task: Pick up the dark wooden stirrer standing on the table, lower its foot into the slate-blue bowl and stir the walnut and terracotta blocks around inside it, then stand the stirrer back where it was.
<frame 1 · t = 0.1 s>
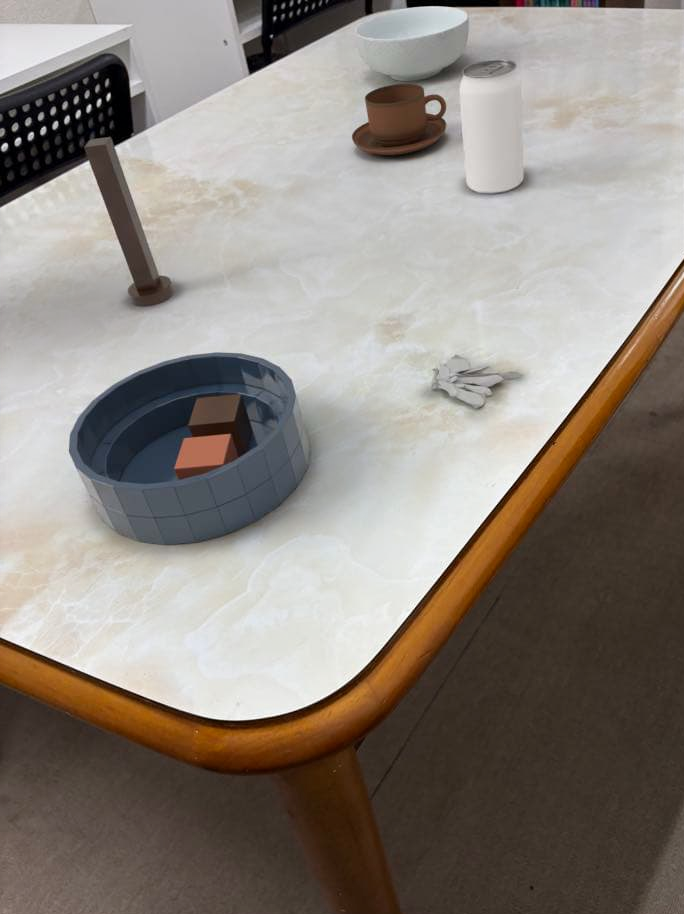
cup and saucer: (400, 146, 109), on the table
can: (495, 185, 97), on the table
cereal bowl: (416, 74, 131), on the table
stirrer: (153, 296, 87), on the table
block terracotta: (216, 488, 62), resting on bowl
bowl: (204, 473, 64), on the table
block walnut: (227, 446, 66), resting on bowl
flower: (478, 388, 68), on the table
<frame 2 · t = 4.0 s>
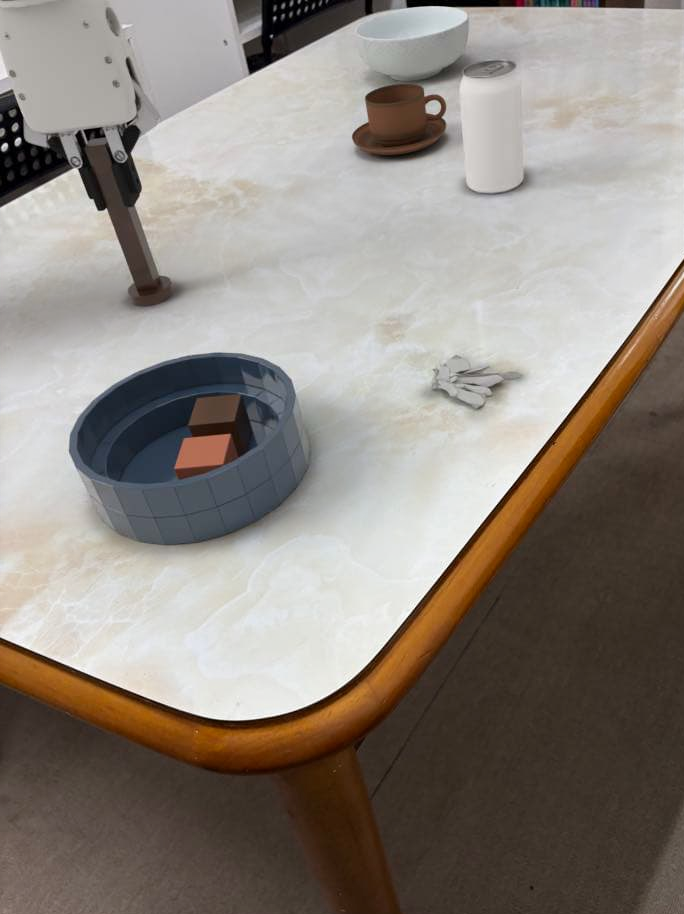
hand: (119, 201, 80), 10 cm above the table, tool pointing down, fingers closed on stirrer, 2 cm apart
stirrer: (153, 296, 87), on the table, touching gripper
everything else where it was.
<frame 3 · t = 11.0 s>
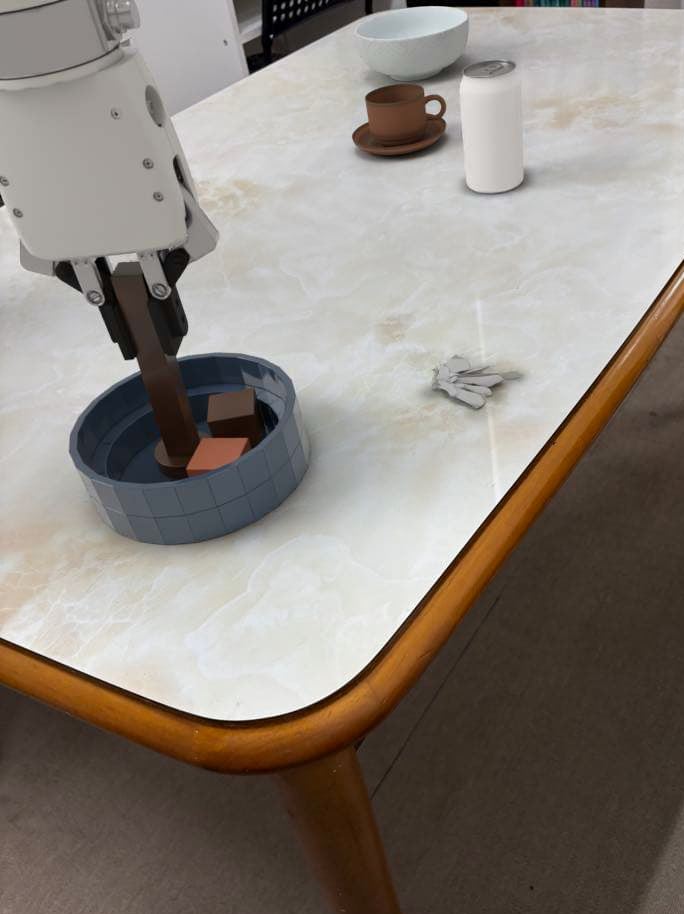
hand: (155, 345, 57), 11 cm above the table, tool pointing down, fingers closed on stirrer, 2 cm apart
stirrer: (187, 460, 64), point 1 cm above the table, touching block terracotta, block walnut, gripper
block terracotta: (230, 491, 62), point 1 cm above the table, touching bowl, stirrer
block walnut: (242, 441, 66), point 1 cm above the table, touching bowl, stirrer
everything else where it was.
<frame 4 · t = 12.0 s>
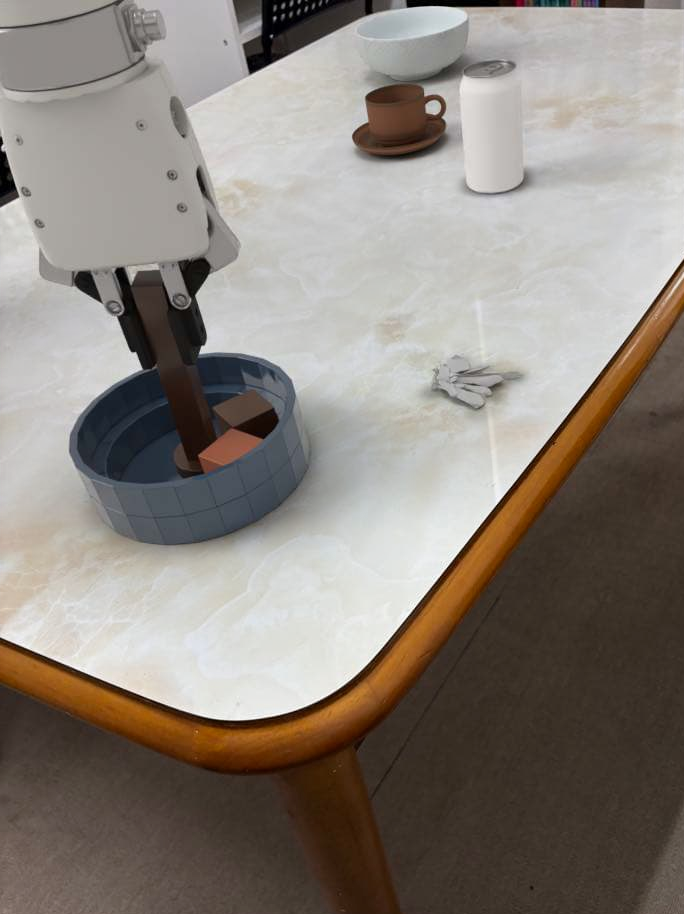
hand: (173, 354, 57), 11 cm above the table, tool pointing down, fingers closed on stirrer, 2 cm apart
stirrer: (206, 463, 64), point 1 cm above the table, touching block terracotta, gripper
block terracotta: (245, 485, 62), point 1 cm above the table, touching bowl, stirrer
block walnut: (254, 444, 66), point 1 cm above the table, touching bowl
everything else where it was.
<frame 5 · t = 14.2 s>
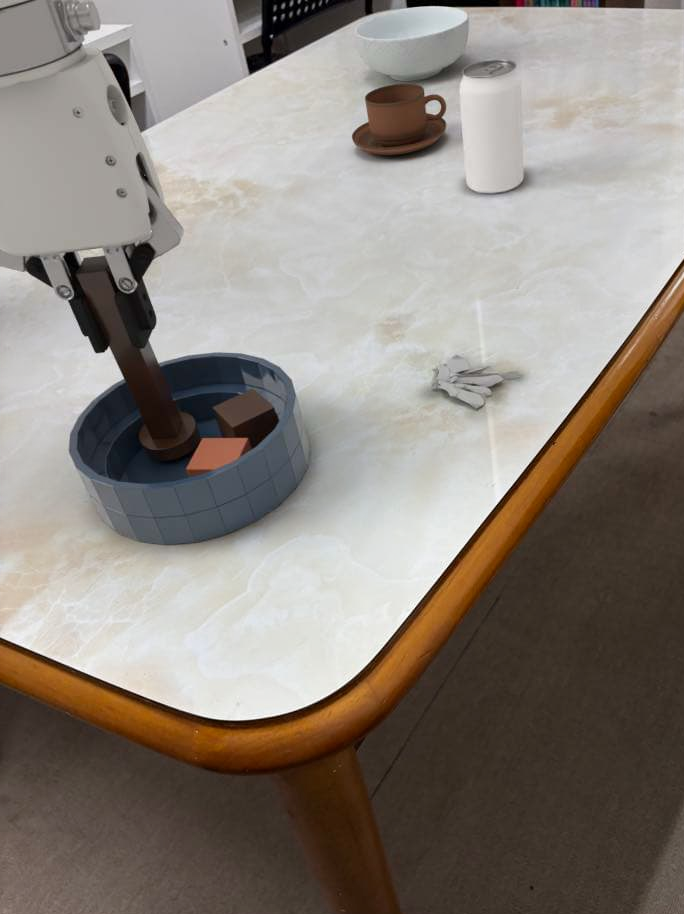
hand: (124, 338, 58), 11 cm above the table, tool pointing down, fingers closed on stirrer, 2 cm apart
stirrer: (172, 441, 66), point 1 cm above the table, touching gripper
block terracotta: (230, 491, 62), point 1 cm above the table, touching bowl
everything else where it was.
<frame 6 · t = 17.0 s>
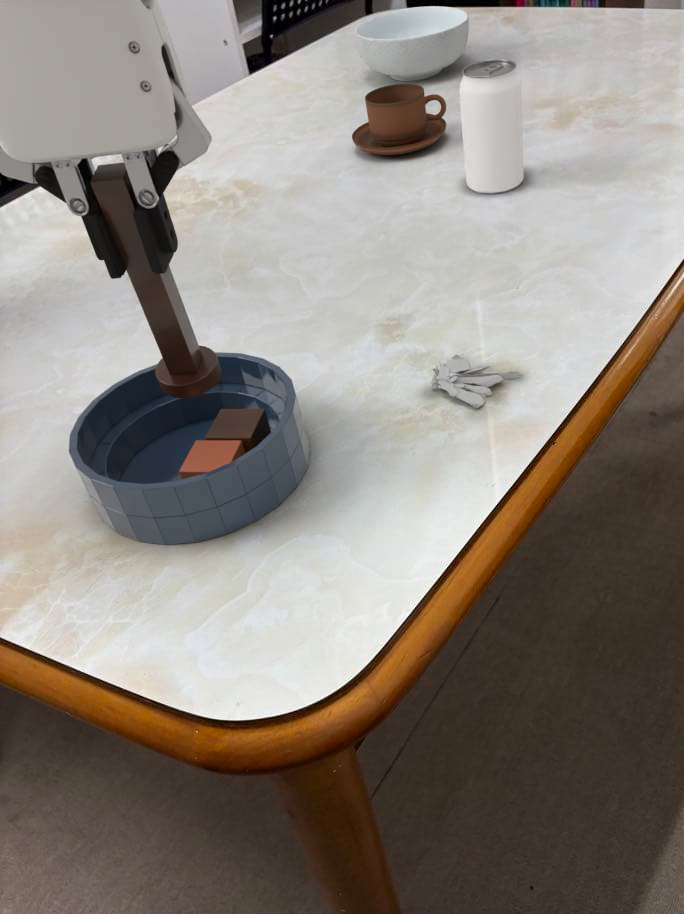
hand: (143, 263, 53), 17 cm above the table, tool pointing down, fingers closed on stirrer
stirrer: (191, 378, 61), point 7 cm above the table, tilted 7°, touching gripper
block walnut: (247, 460, 64), point 1 cm above the table, touching bowl
everything else where it was.
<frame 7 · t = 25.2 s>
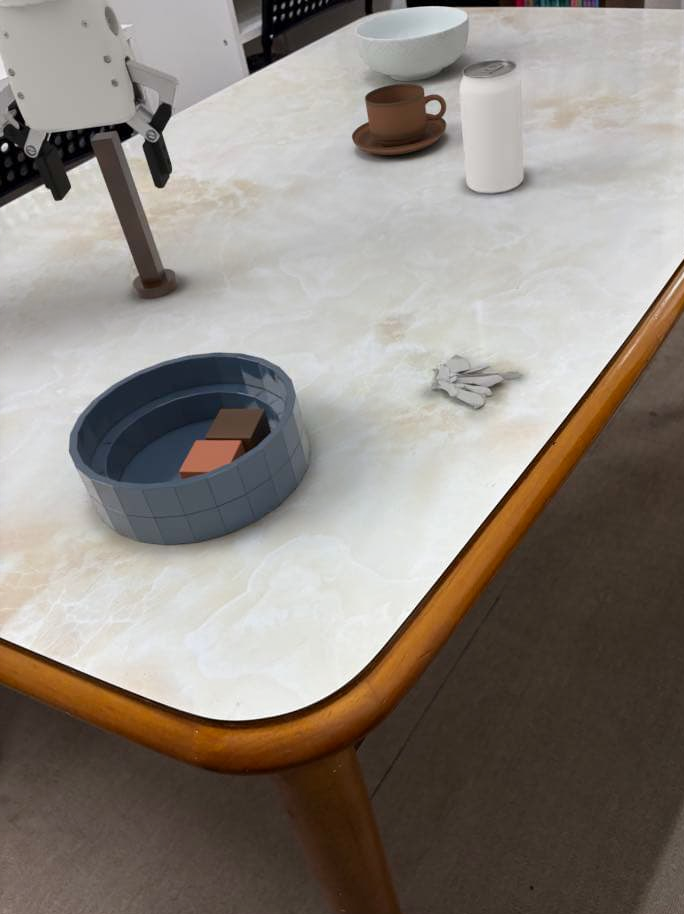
hand: (113, 188, 80), 11 cm above the table, tool pointing down, fingers open, 9 cm apart
stirrer: (157, 289, 88), on the table
everything else where it was.
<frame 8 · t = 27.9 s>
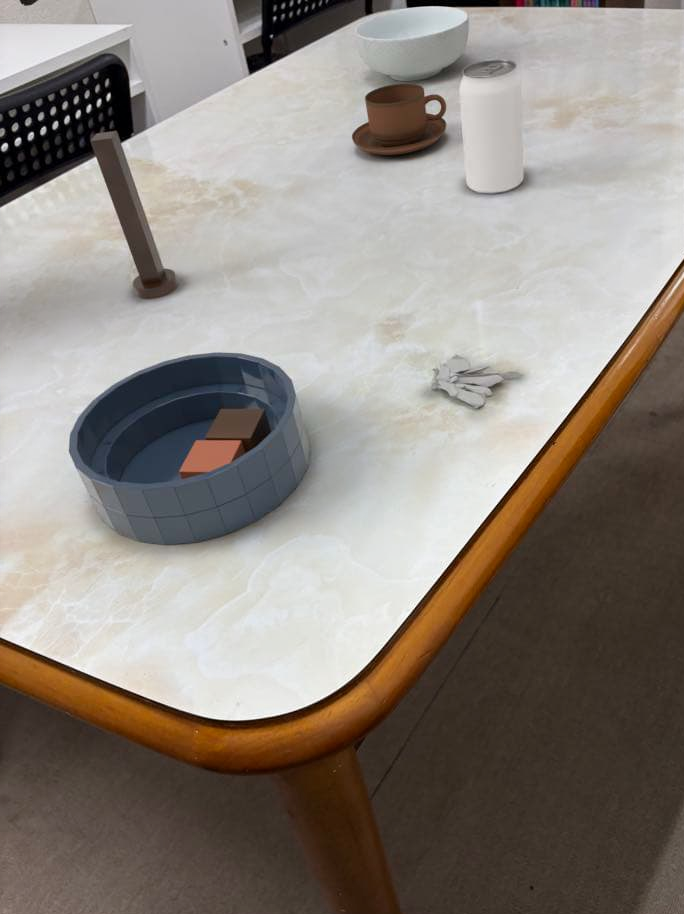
nothing on the table moved.
at the end: block walnut moved 2.7 cm from its start; block walnut inside the target area in the bowl (3.3 cm from its centre), point 0.5 cm above the bowl's base; block terracotta inside the target area in the bowl (3.8 cm from its centre), point 0.5 cm above the bowl's base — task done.
